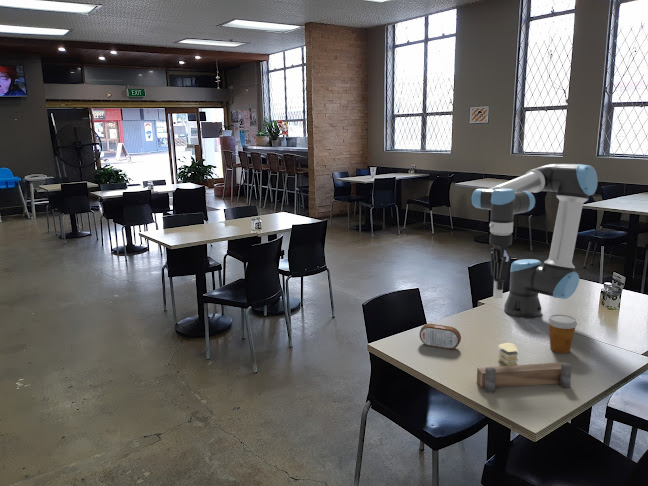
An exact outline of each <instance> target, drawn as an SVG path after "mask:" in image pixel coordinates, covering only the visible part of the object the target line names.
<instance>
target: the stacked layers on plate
mask: <svg viewBox="0 0 648 486" xmlns="http://www.w3.org/2000/svg"><path fill="white" fill-rule="evenodd" d="M498 351H499V353H498V354H497V356H498V361H500V362H502V363H504V364H505V366H511V365H517V361H519V359H518V356H519V353H518V352H519V349H518V348H517V346H516V344H514V343H512V342H504V343H501V344H498Z"/></svg>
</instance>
